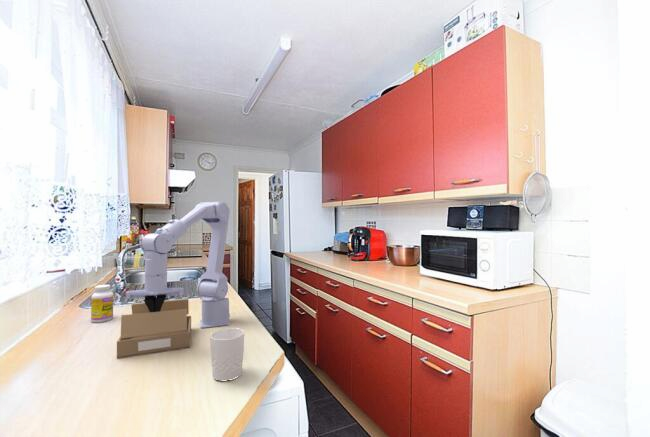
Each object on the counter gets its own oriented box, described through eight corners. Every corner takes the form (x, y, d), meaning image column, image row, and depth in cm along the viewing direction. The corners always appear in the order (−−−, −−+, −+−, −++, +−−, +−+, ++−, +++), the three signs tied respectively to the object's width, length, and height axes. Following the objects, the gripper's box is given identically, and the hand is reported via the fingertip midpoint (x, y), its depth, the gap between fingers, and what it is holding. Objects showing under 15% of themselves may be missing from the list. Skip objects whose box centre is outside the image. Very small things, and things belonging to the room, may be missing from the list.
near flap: (186, 308, 90) (186, 308, 90) (186, 329, 89) (186, 329, 89) (121, 315, 84) (121, 315, 84) (120, 338, 83) (120, 338, 83)
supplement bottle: (101, 323, 110) (101, 288, 110) (86, 322, 111) (86, 287, 111) (117, 317, 116) (117, 284, 117) (103, 316, 118) (103, 283, 118)
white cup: (215, 367, 77) (215, 328, 77) (246, 366, 78) (246, 327, 78) (205, 384, 69) (205, 340, 69) (241, 382, 70) (241, 339, 70)
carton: (191, 328, 105) (191, 315, 105) (189, 347, 89) (189, 332, 89) (130, 336, 98) (130, 322, 98) (116, 358, 82) (116, 341, 82)
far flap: (188, 314, 104) (188, 313, 104) (188, 299, 102) (188, 298, 103) (132, 320, 98) (132, 319, 98) (131, 304, 96) (131, 303, 96)
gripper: (123, 278, 82) (122, 329, 82) (182, 275, 88) (182, 322, 87) (129, 274, 89) (128, 321, 89) (184, 271, 94) (183, 315, 94)
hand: (155, 321), depth 88 cm, fingers closed, pressing on near flap
